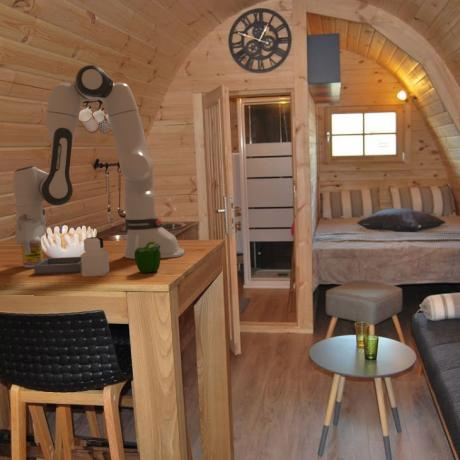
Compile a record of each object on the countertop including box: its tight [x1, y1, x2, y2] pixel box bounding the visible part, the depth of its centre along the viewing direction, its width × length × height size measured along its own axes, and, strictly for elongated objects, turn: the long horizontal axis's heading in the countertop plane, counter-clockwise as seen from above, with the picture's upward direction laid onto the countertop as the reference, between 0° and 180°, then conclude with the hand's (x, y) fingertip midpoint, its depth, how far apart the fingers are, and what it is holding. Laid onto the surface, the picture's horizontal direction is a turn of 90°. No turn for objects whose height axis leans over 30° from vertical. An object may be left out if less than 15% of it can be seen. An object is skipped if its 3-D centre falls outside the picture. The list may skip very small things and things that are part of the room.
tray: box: [33, 256, 82, 276], centre depth 188 cm, size 15×13×3 cm
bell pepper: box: [134, 241, 162, 274], centre depth 178 cm, size 8×8×10 cm
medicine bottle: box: [80, 236, 110, 278], centre depth 178 cm, size 7×7×12 cm
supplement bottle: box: [20, 230, 44, 269], centre depth 195 cm, size 7×7×13 cm
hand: (32, 252), depth 195 cm, fingers open, 8 cm apart
